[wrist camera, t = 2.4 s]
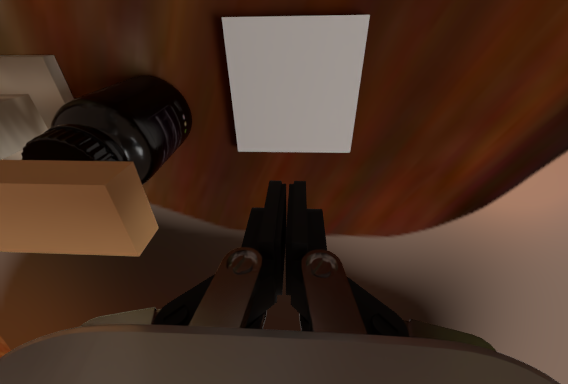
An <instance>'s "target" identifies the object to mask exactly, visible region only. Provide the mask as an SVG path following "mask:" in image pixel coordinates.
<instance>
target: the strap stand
mask: <svg viewBox="0 0 568 384" xmlns="http://www.w3.org/2000/svg"><path fill="white" fill-rule="evenodd" d="M71 100H74V98H73V96H72V94H71V91H70V89H69V87H68V85H67V83H66V81H65V78H64V76H63V74H62V72H61V70H60V68H59V65H58V63H57V61H56V59H55V57H54V55H0V160H2V159H3V160H22V155H21V153H22V152H23V147H24V146H26V143H27V142H28V141H30V140H32V139H33V138H34V137H37V136H39V135H41V134H43V133H44V132H45V131H47V130H48V129H50V128H51V122H52V119H53V117H54V115H55V113H56V112H57V110H58V109H59V108H60V107H61V106H62V105H64V104H65V103H67V102H69V101H71Z"/></svg>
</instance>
